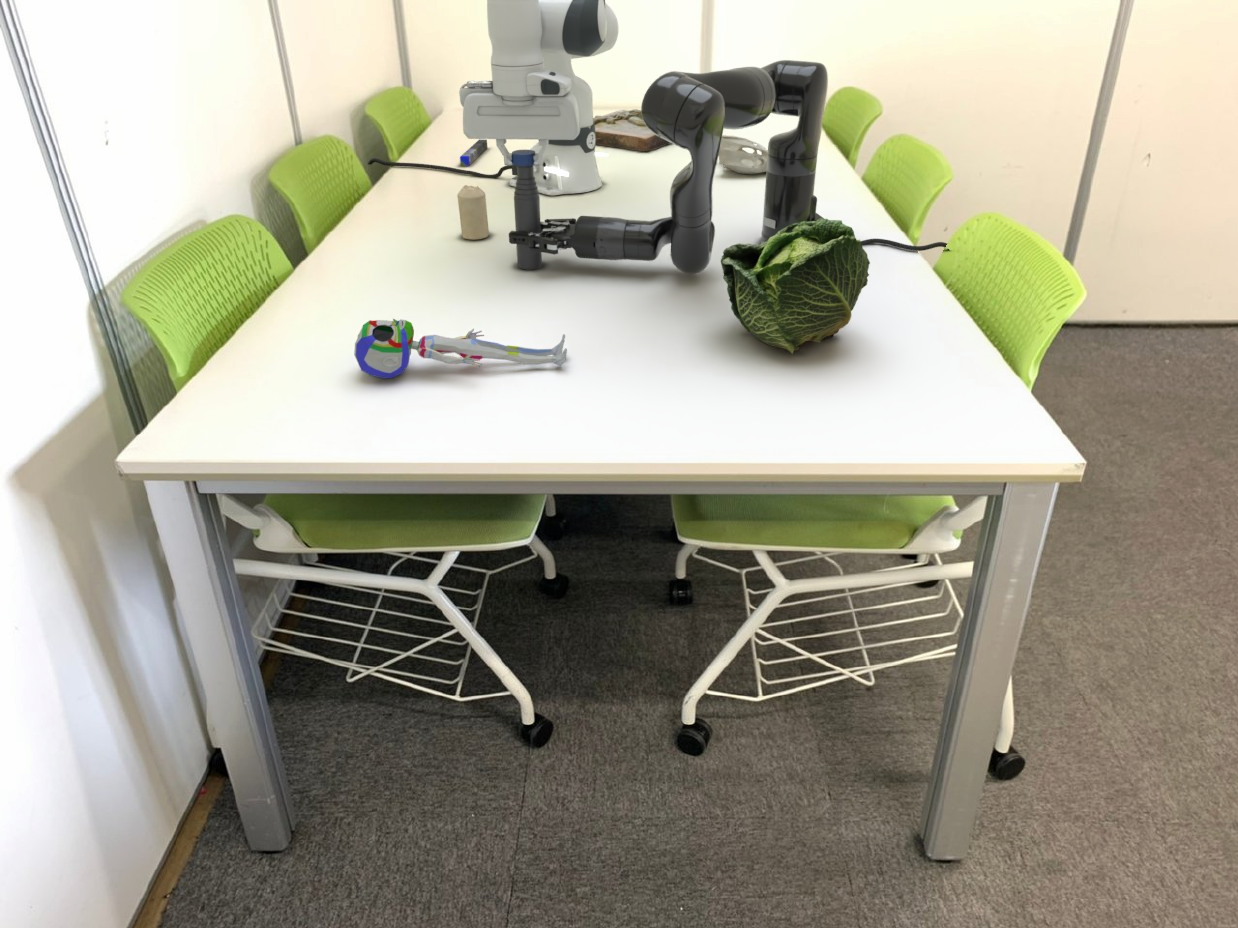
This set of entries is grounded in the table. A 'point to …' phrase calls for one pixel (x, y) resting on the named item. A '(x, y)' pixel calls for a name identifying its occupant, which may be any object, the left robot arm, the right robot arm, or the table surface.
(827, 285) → the vegetable
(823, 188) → the table surface
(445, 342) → the toy
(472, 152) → the pillar
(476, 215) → the candle
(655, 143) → the plaque
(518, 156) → the cap
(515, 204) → the bottle
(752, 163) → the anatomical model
